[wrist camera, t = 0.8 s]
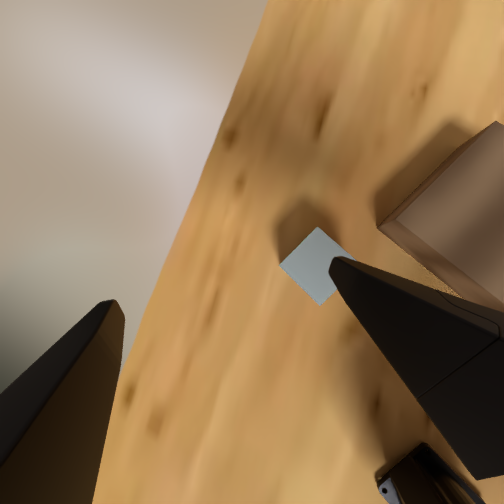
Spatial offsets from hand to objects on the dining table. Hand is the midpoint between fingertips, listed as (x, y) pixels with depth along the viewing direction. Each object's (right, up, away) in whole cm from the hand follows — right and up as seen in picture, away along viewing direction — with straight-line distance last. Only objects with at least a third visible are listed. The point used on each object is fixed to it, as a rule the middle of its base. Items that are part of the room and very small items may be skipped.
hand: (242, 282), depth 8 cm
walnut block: (+23, +4, +12) cm, 26 cm away
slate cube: (+7, 0, +14) cm, 16 cm away
